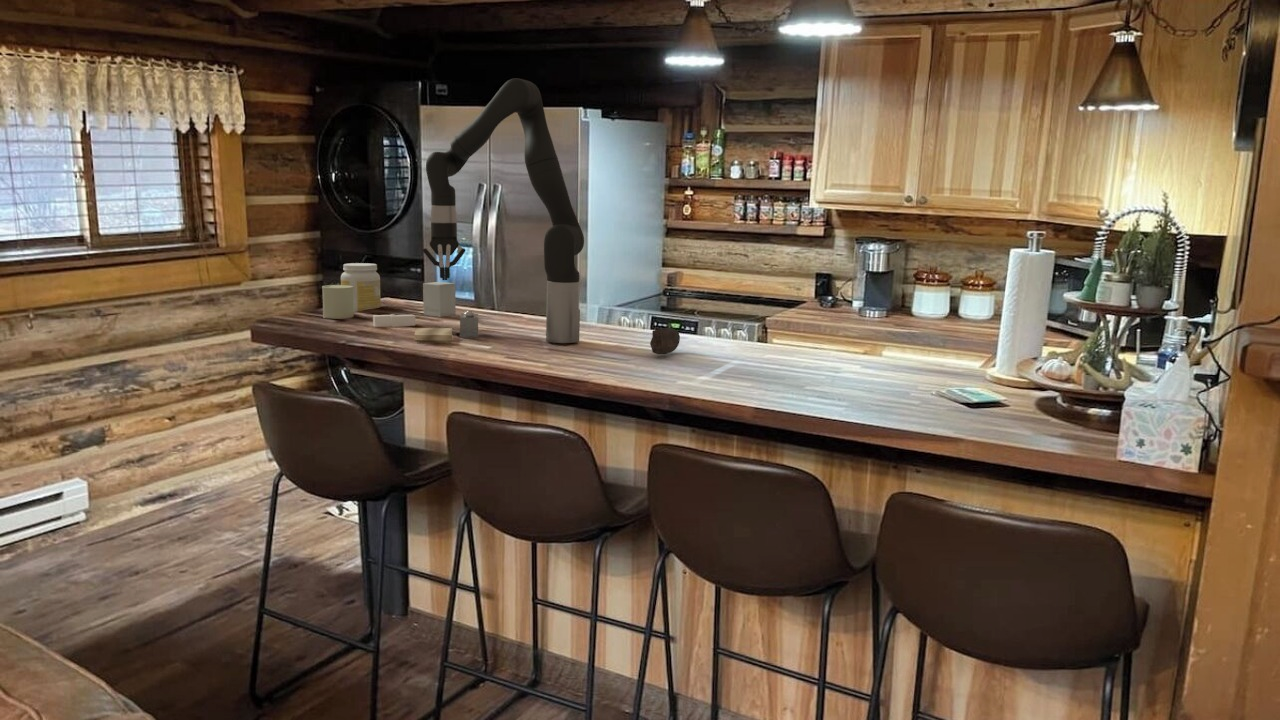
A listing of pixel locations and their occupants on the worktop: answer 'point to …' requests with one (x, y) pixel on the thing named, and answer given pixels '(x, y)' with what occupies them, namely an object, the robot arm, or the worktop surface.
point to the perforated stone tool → (664, 340)
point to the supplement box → (439, 299)
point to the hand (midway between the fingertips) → (444, 279)
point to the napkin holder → (393, 320)
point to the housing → (468, 325)
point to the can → (338, 301)
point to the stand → (434, 335)
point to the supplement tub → (363, 285)
